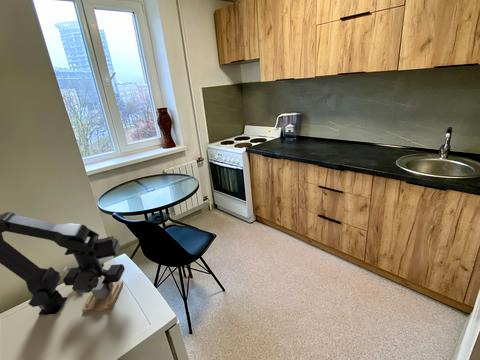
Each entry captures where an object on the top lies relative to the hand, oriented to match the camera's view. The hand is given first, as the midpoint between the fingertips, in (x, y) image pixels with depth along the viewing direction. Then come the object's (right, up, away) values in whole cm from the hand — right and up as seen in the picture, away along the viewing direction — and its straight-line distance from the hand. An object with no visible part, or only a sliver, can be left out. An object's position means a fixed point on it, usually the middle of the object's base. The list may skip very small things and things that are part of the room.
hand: (102, 290), depth 91 cm
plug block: (0, -1, +1) cm, 1 cm away
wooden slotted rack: (0, -3, 0) cm, 3 cm away
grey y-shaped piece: (-13, 0, +7) cm, 15 cm away
